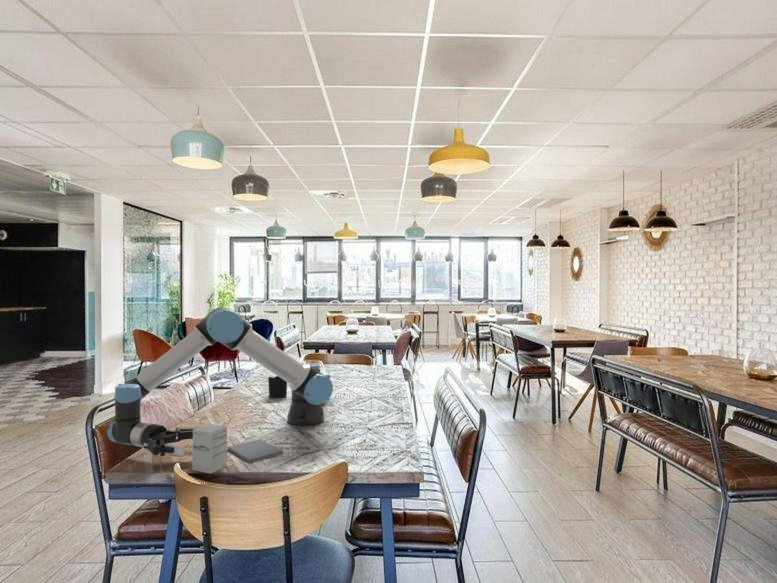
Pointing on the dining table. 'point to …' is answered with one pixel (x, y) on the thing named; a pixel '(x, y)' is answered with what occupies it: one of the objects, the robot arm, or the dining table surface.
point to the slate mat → (255, 450)
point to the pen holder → (277, 387)
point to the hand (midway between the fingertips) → (200, 443)
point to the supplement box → (209, 448)
